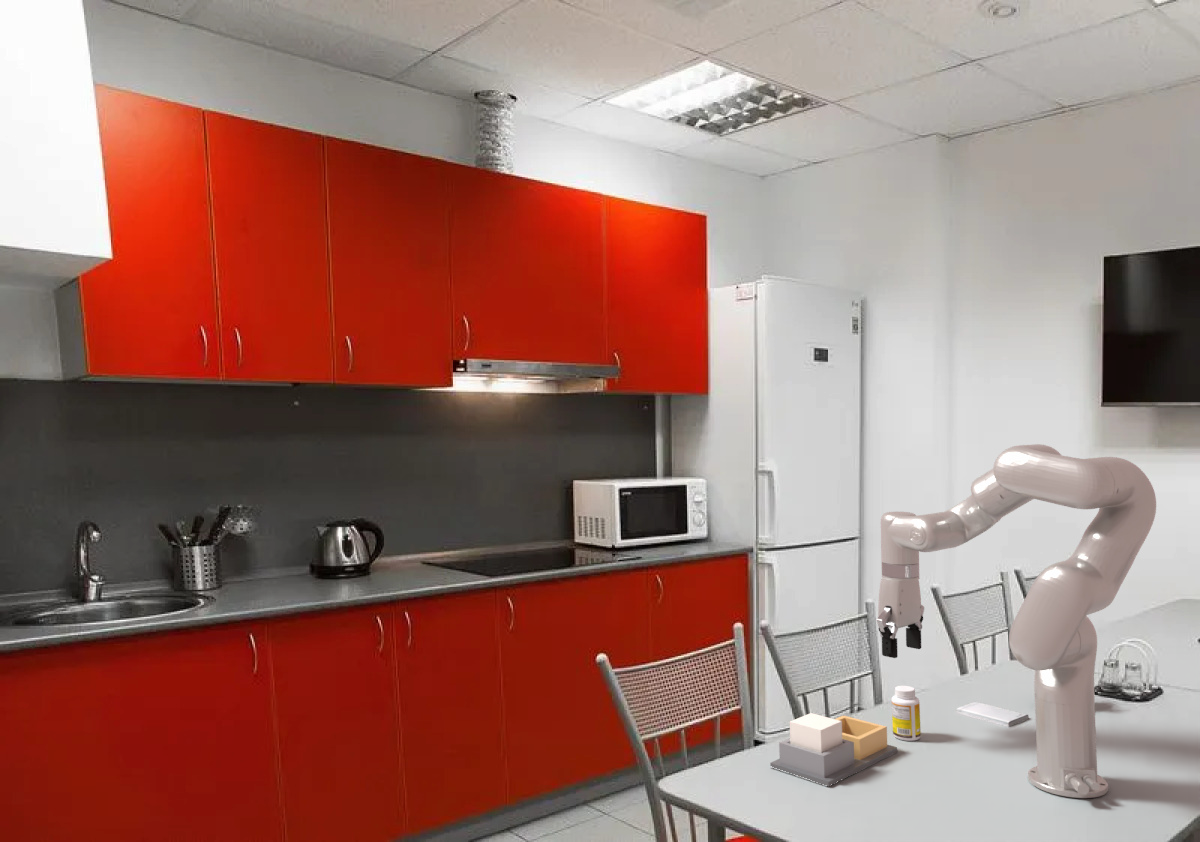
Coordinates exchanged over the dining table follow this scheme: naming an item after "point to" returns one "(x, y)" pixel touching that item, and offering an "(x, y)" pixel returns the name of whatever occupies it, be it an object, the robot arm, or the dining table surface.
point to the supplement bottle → (906, 714)
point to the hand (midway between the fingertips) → (902, 652)
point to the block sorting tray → (832, 747)
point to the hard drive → (992, 714)
